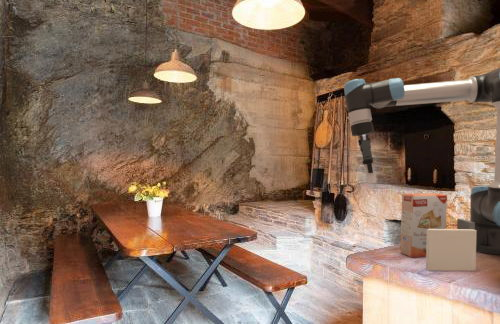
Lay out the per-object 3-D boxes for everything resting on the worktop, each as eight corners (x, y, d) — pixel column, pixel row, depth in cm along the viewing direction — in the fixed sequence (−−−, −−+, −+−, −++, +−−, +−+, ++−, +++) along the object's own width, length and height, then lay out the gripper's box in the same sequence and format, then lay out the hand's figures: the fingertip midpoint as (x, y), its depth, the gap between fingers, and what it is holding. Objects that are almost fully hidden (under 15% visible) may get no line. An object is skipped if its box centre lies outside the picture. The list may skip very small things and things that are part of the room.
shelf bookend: (461, 262, 108) (462, 218, 108) (477, 270, 100) (478, 223, 100) (415, 262, 108) (416, 218, 107) (428, 270, 100) (429, 223, 100)
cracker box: (412, 258, 112) (413, 195, 112) (399, 253, 118) (400, 193, 117) (446, 255, 116) (447, 194, 115) (432, 250, 122) (433, 192, 121)
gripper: (350, 129, 133) (360, 183, 132) (349, 120, 110) (360, 185, 108) (370, 126, 131) (380, 180, 129) (373, 115, 107) (385, 181, 106)
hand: (371, 182), depth 119 cm, fingers open, 13 cm apart
